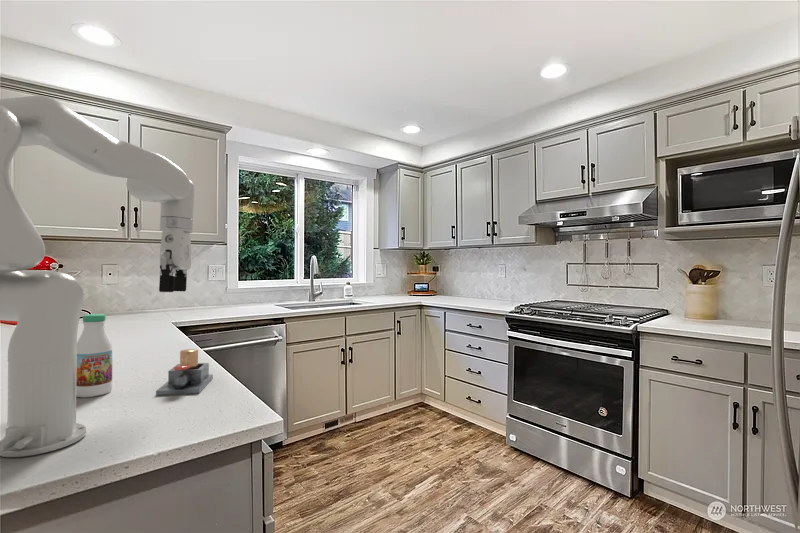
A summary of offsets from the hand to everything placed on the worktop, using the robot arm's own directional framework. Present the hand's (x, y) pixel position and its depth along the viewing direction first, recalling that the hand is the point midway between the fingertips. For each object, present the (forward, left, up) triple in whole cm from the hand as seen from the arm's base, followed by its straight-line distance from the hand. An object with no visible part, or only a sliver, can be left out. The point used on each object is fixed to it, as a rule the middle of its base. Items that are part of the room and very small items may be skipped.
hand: (173, 291), depth 105 cm
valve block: (+4, -2, -26) cm, 26 cm away
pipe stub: (+6, -2, -25) cm, 26 cm away
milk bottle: (+1, +19, -26) cm, 32 cm away
